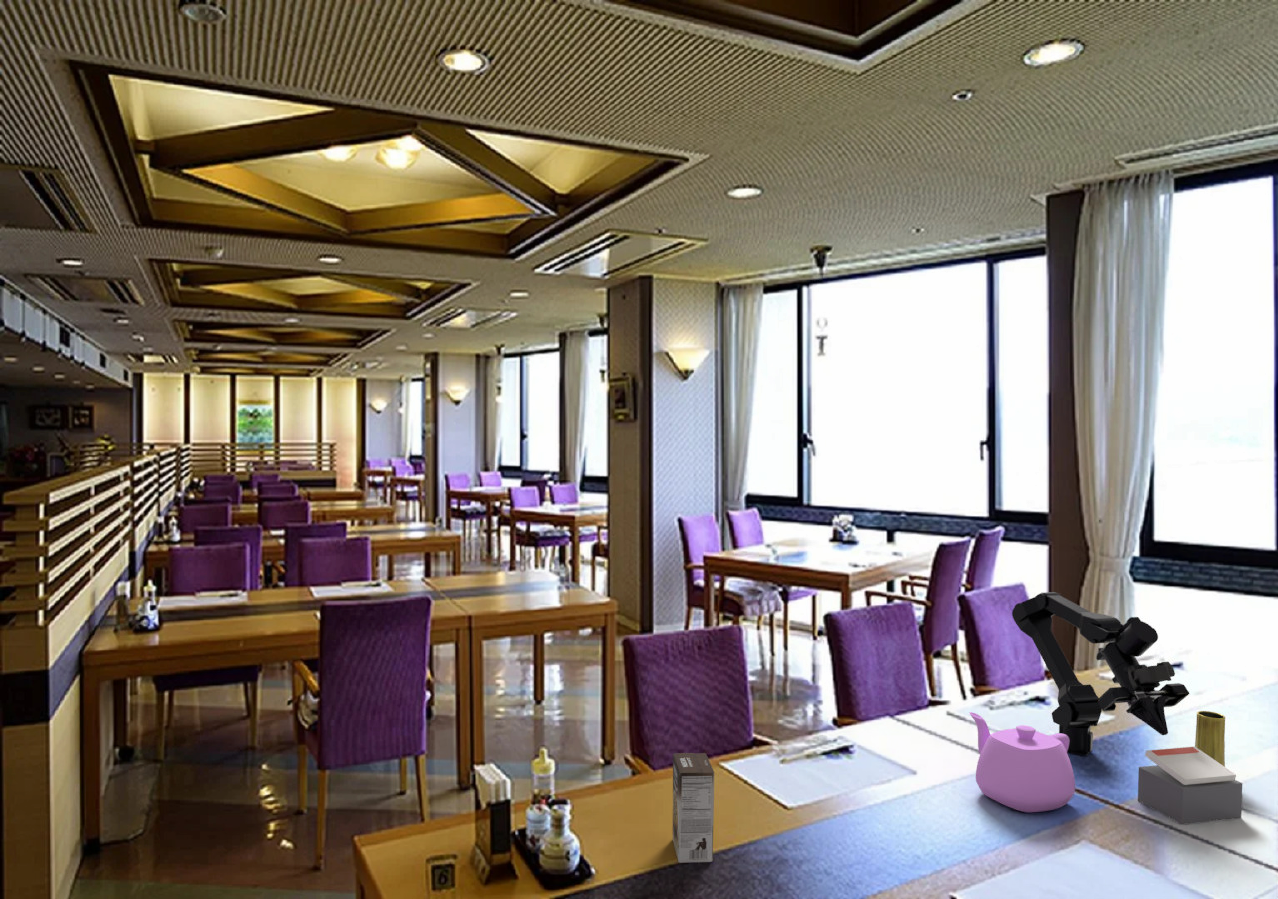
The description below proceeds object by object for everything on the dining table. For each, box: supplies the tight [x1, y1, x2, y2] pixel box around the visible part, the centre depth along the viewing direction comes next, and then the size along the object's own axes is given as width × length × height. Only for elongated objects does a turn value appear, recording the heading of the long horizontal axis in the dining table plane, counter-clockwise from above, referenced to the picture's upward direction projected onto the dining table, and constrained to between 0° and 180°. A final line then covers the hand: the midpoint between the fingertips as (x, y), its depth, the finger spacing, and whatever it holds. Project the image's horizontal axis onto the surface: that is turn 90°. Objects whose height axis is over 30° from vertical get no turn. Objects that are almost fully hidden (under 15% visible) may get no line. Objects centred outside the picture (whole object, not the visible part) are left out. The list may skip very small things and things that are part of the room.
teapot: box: [968, 712, 1076, 814], centre depth 182 cm, size 23×21×15 cm
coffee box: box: [672, 752, 715, 864], centre depth 156 cm, size 9×6×16 cm
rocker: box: [1144, 746, 1237, 785], centre depth 175 cm, size 10×12×1 cm
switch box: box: [1137, 764, 1243, 825], centre depth 175 cm, size 11×14×7 cm
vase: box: [1194, 710, 1226, 767], centre depth 191 cm, size 6×6×14 cm
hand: (1165, 734), depth 181 cm, fingers closed
